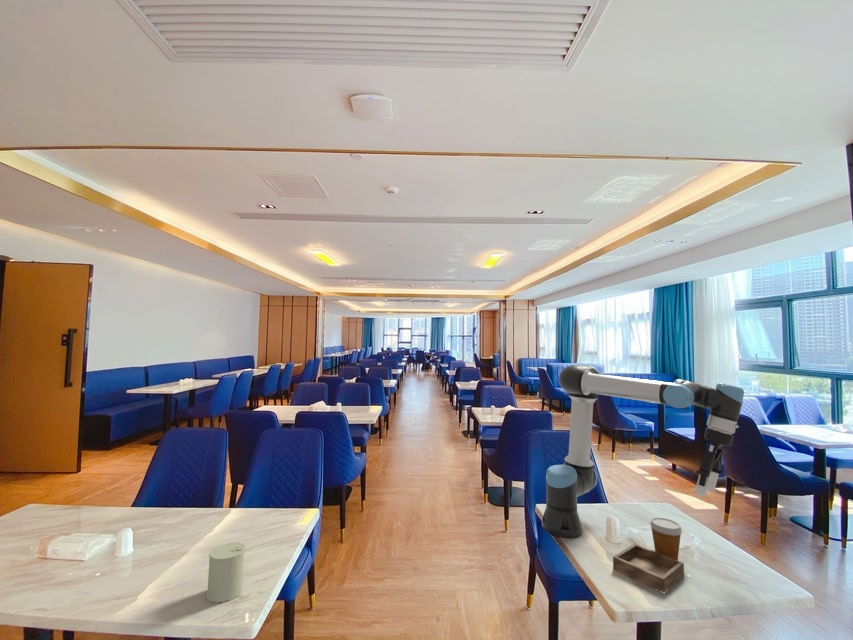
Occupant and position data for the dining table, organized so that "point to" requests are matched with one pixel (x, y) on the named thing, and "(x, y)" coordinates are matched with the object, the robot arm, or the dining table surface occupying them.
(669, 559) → the cup tray
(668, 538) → the disposable coffee cup
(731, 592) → the dining table surface
